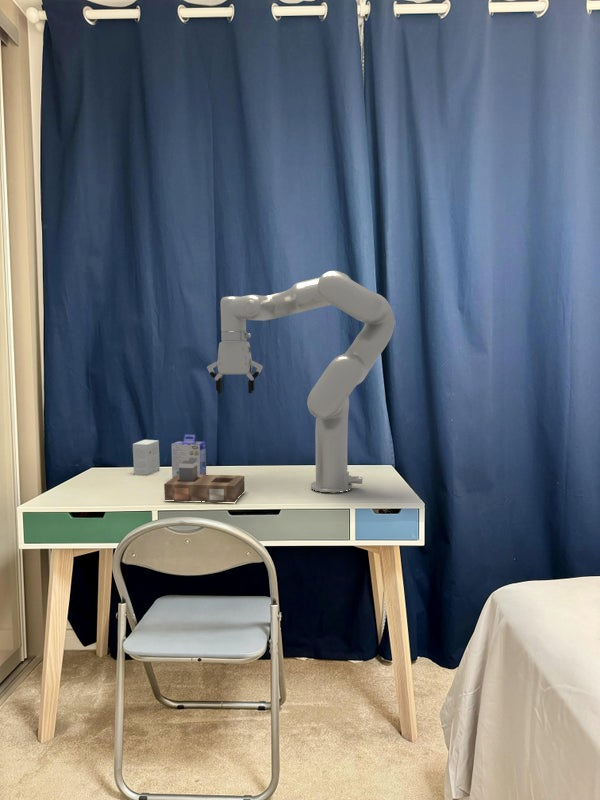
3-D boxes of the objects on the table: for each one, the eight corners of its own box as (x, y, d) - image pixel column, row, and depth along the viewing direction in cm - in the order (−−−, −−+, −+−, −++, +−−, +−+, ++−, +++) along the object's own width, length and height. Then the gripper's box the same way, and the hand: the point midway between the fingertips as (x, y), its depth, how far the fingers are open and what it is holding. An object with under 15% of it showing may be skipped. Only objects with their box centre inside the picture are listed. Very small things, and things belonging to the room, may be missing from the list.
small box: (145, 469, 208) (144, 439, 207) (160, 470, 207) (159, 440, 206) (133, 474, 201) (132, 443, 199) (148, 475, 199) (147, 444, 198)
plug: (198, 494, 175) (197, 460, 173) (193, 498, 171) (192, 463, 170) (184, 494, 175) (183, 460, 174) (179, 498, 171) (178, 463, 170)
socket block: (244, 492, 177) (244, 475, 176) (234, 504, 165) (234, 486, 164) (179, 490, 179) (178, 474, 179) (164, 501, 167) (163, 484, 167)
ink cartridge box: (207, 478, 194) (206, 434, 193) (201, 482, 189) (200, 437, 187) (178, 477, 196) (177, 433, 194) (171, 481, 191) (170, 436, 189)
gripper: (264, 337, 187) (265, 391, 188) (209, 337, 189) (211, 392, 191) (259, 337, 179) (260, 394, 181) (202, 337, 181) (204, 394, 183)
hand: (235, 393), depth 186 cm, fingers open, 9 cm apart
